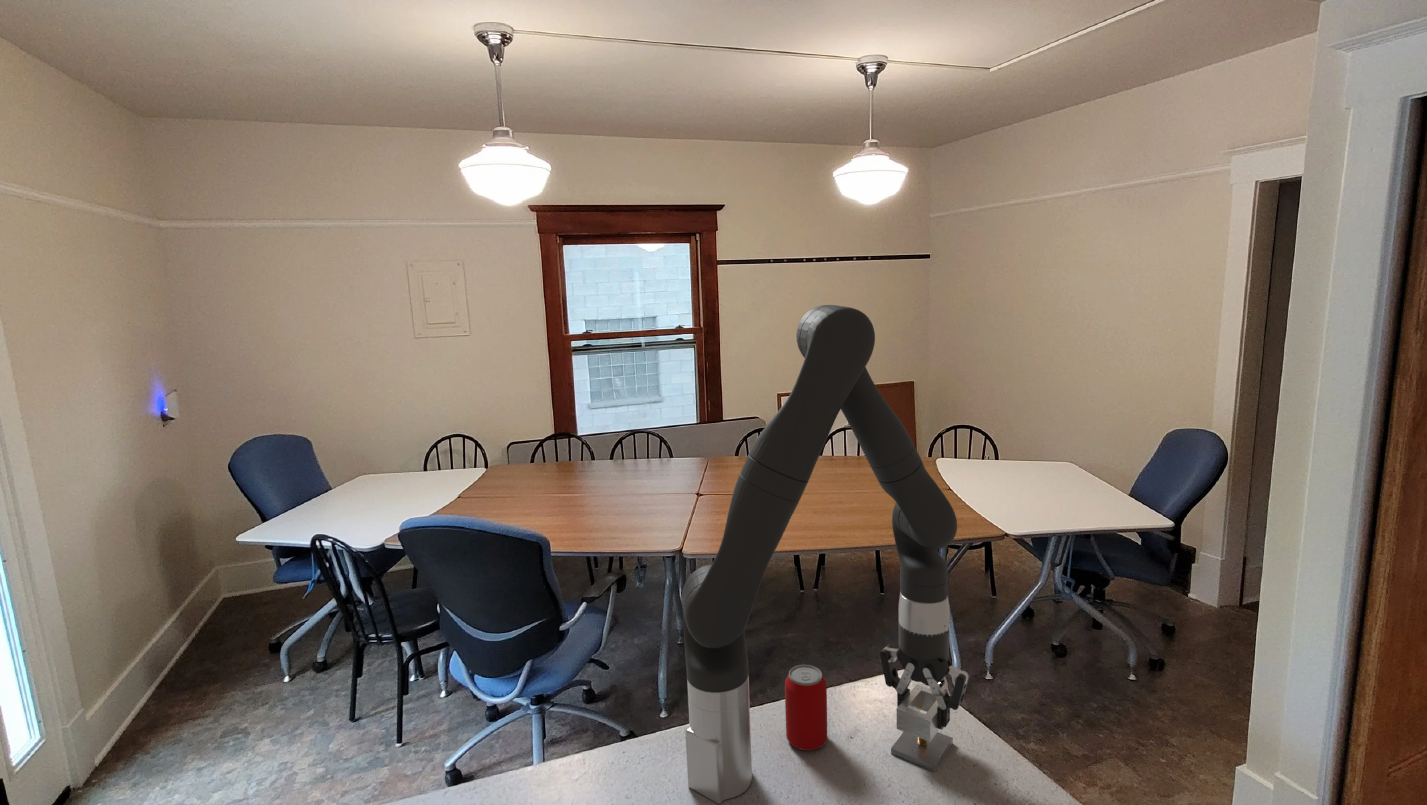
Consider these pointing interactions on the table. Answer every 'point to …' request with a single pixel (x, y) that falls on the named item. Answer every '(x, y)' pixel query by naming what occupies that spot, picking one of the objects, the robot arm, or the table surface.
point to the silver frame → (918, 713)
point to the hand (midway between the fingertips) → (923, 719)
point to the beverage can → (806, 707)
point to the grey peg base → (922, 749)
